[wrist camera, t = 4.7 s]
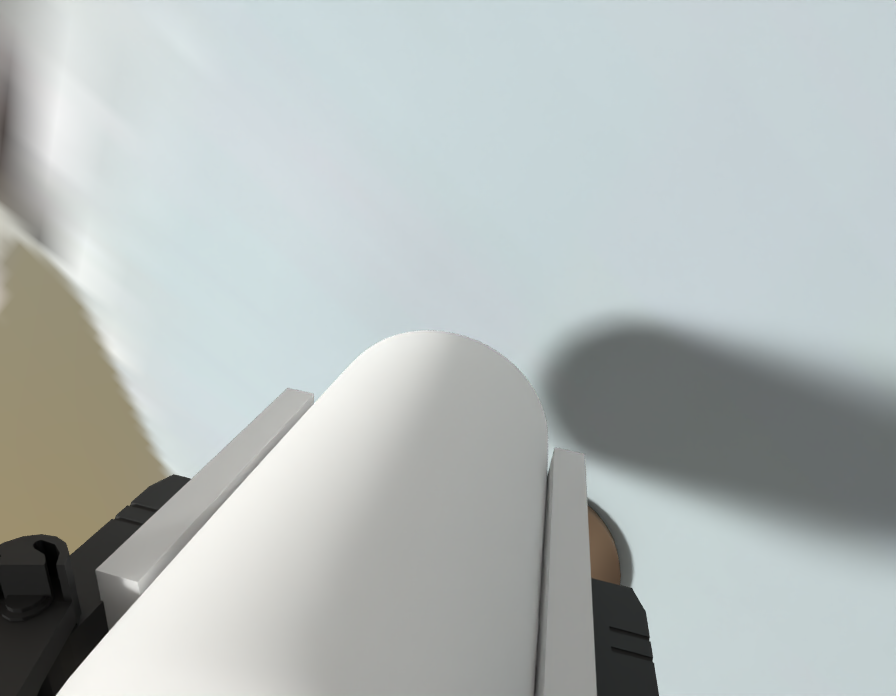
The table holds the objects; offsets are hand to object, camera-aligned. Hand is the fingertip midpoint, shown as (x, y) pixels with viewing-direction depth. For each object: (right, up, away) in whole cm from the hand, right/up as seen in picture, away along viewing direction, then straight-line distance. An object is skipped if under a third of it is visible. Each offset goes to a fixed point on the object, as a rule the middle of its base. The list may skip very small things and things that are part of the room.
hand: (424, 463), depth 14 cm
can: (0, +1, +2) cm, 2 cm away
